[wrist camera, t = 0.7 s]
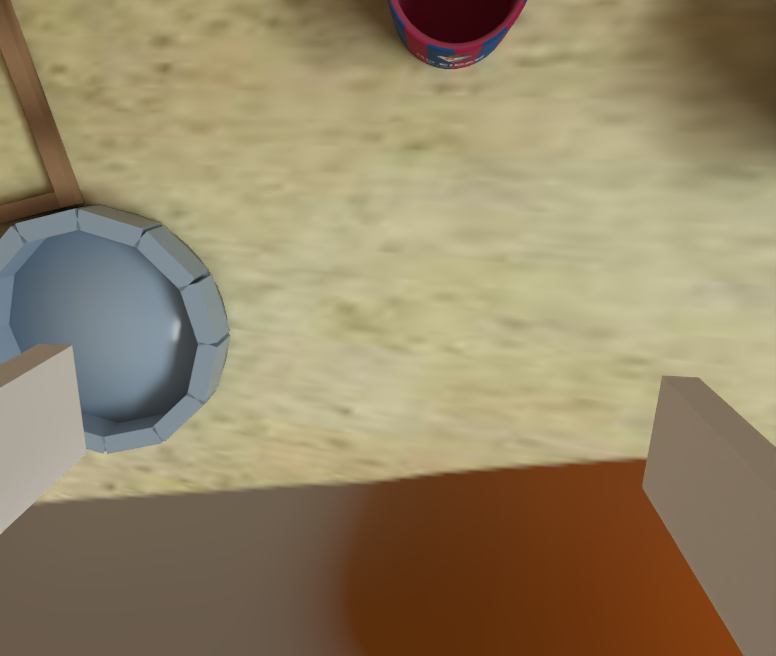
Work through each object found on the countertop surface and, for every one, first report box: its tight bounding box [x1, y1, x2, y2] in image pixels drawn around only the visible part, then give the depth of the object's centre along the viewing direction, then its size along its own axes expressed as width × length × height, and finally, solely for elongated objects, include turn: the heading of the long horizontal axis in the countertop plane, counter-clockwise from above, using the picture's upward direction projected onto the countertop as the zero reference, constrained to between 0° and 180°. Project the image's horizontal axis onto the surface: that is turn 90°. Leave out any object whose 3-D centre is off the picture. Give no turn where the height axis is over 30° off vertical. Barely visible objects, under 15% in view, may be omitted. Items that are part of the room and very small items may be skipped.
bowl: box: [0, 205, 230, 454], centre depth 39 cm, size 15×15×3 cm
